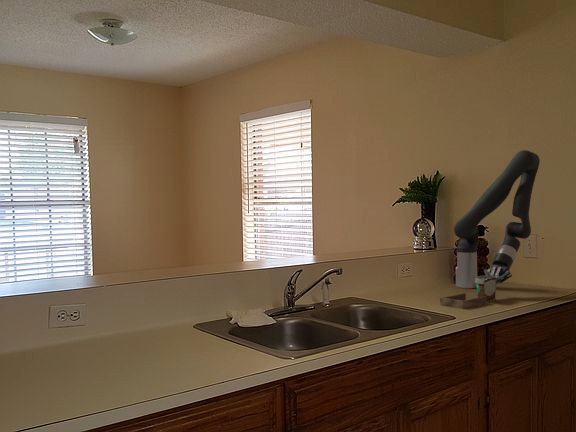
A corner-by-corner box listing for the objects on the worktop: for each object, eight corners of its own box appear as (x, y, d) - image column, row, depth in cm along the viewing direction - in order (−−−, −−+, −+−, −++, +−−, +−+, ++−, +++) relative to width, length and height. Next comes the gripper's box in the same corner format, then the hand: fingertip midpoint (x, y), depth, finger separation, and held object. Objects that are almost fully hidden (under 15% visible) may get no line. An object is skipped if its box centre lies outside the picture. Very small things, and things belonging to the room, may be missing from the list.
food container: (483, 297, 234) (482, 274, 234) (497, 299, 229) (496, 275, 229) (469, 301, 225) (469, 278, 225) (483, 303, 221) (483, 279, 221)
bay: (440, 305, 219) (439, 297, 219) (463, 300, 229) (463, 293, 229) (463, 309, 211) (463, 301, 210) (486, 303, 220) (486, 296, 220)
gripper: (487, 251, 241) (472, 281, 233) (515, 253, 230) (500, 284, 223) (494, 262, 244) (479, 292, 237) (522, 264, 234) (507, 295, 226)
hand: (490, 288), depth 230 cm, fingers closed
